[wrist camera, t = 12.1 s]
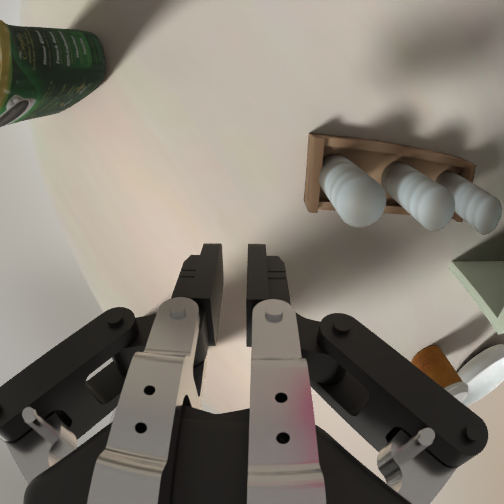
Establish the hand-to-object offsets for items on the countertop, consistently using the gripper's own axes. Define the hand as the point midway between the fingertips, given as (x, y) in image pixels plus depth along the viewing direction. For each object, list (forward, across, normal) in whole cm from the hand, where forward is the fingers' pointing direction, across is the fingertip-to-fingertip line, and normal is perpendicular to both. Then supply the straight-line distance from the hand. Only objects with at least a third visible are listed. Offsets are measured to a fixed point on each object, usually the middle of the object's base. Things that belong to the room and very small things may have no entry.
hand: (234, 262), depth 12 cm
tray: (+17, -16, 0) cm, 23 cm away
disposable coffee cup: (+17, -34, +32) cm, 49 cm away
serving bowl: (+17, -54, +40) cm, 70 cm away
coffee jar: (+17, +18, -12) cm, 28 cm away
